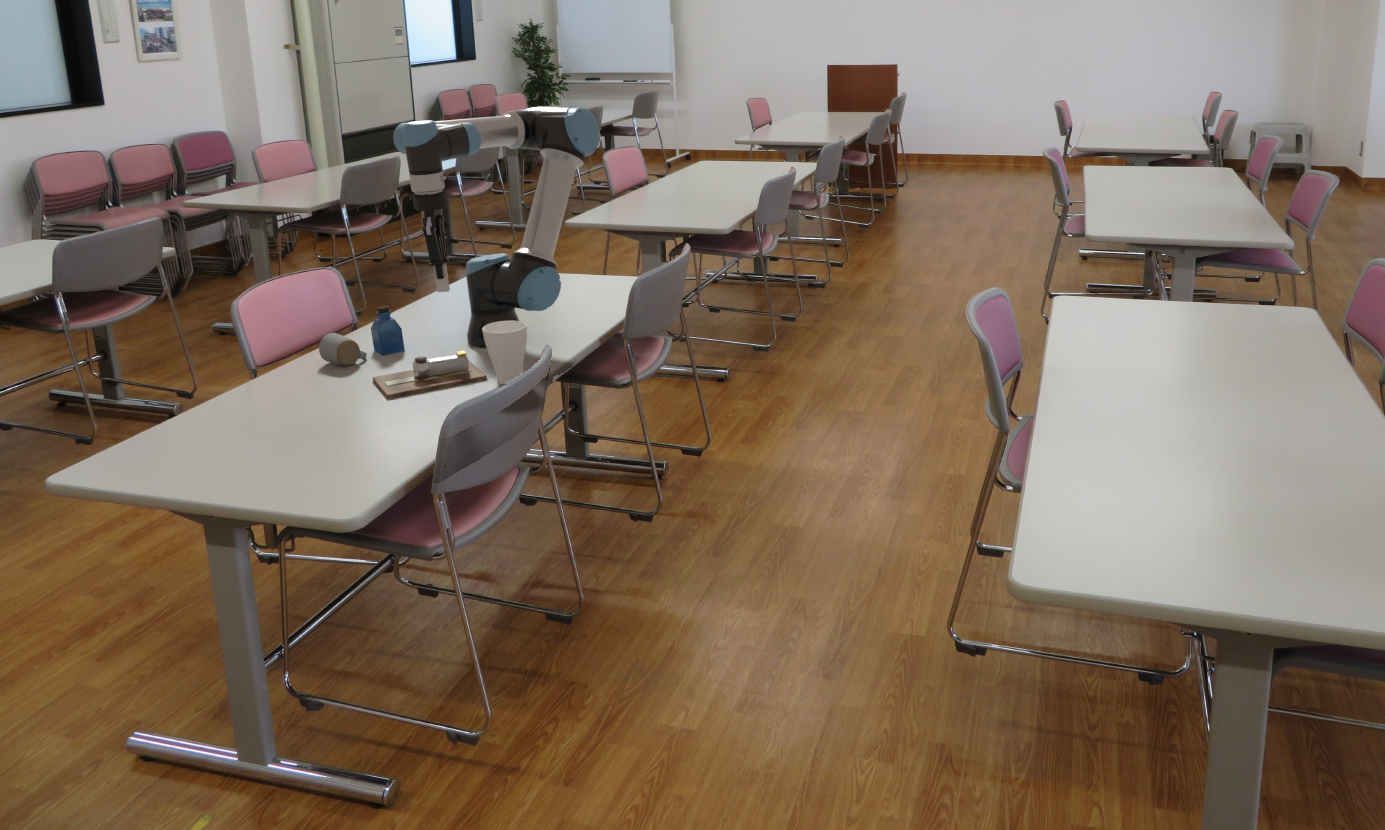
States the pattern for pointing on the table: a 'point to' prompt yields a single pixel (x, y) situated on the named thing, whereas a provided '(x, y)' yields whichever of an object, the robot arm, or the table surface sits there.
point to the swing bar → (441, 365)
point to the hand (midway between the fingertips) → (443, 290)
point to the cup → (506, 348)
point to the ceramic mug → (340, 350)
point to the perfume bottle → (386, 333)
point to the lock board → (424, 380)
